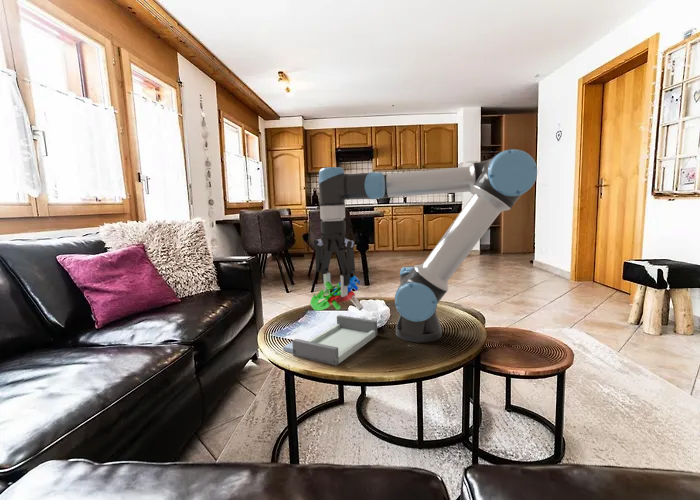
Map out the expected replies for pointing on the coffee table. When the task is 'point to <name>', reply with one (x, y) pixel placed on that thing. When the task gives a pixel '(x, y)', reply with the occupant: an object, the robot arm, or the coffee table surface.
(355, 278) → the toy
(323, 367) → the coffee table surface
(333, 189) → the robot arm
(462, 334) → the coffee table surface
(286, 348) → the wing blank
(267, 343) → the coffee table surface
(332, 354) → the tray
